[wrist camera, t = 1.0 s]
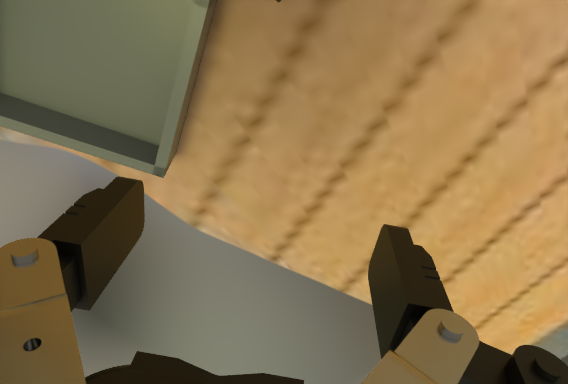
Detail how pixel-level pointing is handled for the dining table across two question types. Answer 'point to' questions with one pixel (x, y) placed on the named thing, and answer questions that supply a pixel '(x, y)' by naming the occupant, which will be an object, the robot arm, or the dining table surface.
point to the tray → (102, 74)
